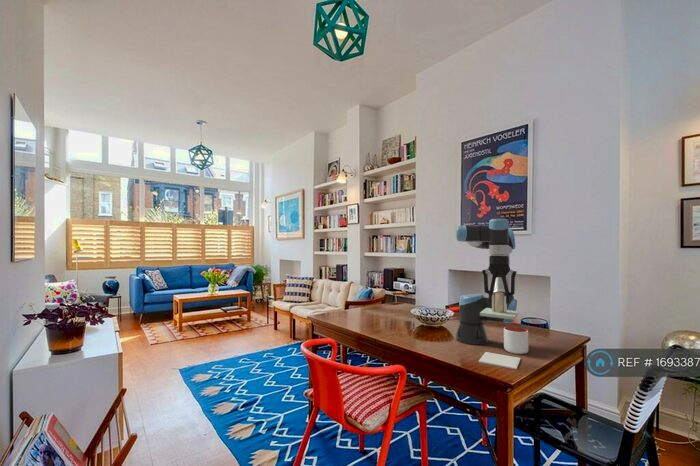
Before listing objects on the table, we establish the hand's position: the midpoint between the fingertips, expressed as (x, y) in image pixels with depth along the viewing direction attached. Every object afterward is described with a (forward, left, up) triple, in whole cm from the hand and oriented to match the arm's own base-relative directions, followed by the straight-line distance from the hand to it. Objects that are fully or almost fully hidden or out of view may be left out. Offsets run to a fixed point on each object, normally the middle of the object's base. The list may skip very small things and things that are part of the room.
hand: (499, 310), depth 137 cm
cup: (+4, +18, -21) cm, 28 cm away
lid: (0, 0, -2) cm, 2 cm away
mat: (0, 0, -21) cm, 21 cm away
